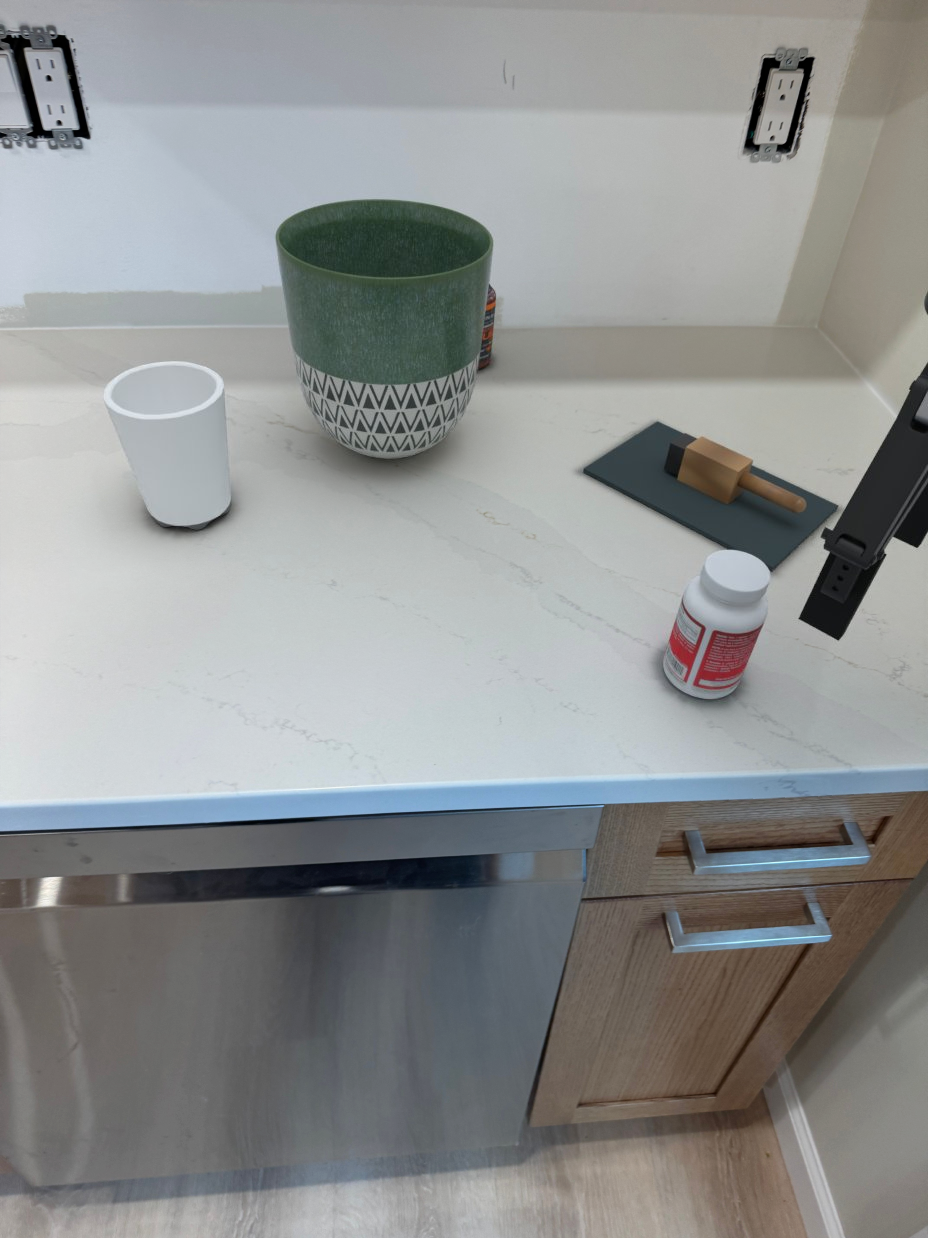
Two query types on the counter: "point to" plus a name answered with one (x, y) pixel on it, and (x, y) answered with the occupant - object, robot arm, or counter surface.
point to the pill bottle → (717, 625)
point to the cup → (174, 439)
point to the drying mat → (709, 499)
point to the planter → (385, 318)
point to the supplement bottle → (488, 329)
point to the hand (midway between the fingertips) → (863, 579)
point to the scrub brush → (722, 473)
